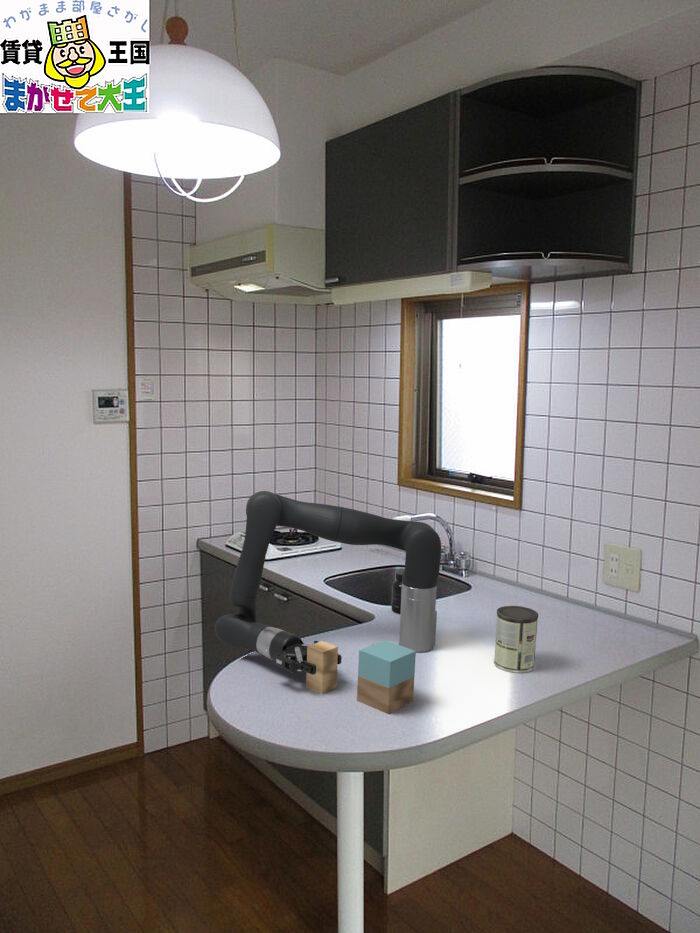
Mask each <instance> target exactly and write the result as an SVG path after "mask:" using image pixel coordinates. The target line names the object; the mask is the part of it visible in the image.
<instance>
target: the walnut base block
mask: <svg viewBox="0 0 700 933" xmlns="http://www.w3.org/2000/svg"><path fill="white" fill-rule="evenodd" d="M356 686H357V687H356V690H357V691H356V692H357V693H356V701H357V702H358V703H360V704H364V705H366V706H368V707H370V708H372V709H375V710H378V711H379V712H382V713H384V714H387V715H390V714H391V713H393V712H395V711H397V710H400V709H401V708H403V707H405V706H407V705H408V704H411V703H412V702H414V692H415V690H414V689H415V688H414V687H415V676H414V677H412V678H410V679H408V680H406V681H404V682H402V683H399V684H397V685H395V686H393V687H391V688H387V687H385V686H382V685H380V684H377V683H375V682H372V681H370V680H368V679H365V678H363V677H360V676H358V675H357V685H356Z"/></svg>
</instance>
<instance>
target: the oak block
mask: <svg viewBox="0 0 700 933" xmlns="http://www.w3.org/2000/svg"><path fill="white" fill-rule="evenodd" d="M309 645H310V646H307V662H309V663H312V664H314V665H316V674H314V675H312V674H309V673H307V672H306V679H305V680H306V681H305V688H307V689H309V690H312V691H314V692H316V693H318V694H320V693H321V694H320V695H324V694H325V693H328V692H330V691H332V690H334V689H336V688H337V683H338V682H337V681H338V664H337V660H338V654H339V646H337V645H335V644H332V643H330V642H326V641H323V640H320V641H319V642H318V643H315V644H314V643H312V644H309Z"/></svg>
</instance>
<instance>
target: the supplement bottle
mask: <svg viewBox="0 0 700 933" xmlns="http://www.w3.org/2000/svg"><path fill="white" fill-rule="evenodd" d="M403 572H404V570H400V571H399V570H398V571H396V572H395V580H394V581H393V582H392V585H391V611H392V612H393V613H394V614H397V615H398V614H399V615H400V613H401V592H402V575H403Z"/></svg>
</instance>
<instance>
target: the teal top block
mask: <svg viewBox="0 0 700 933" xmlns="http://www.w3.org/2000/svg"><path fill="white" fill-rule="evenodd" d="M416 654H417V652H416V651H414V650H411V649H409V648H406V647H403V646H400V645H399V644H397V643H394V642H391V641H389V640H386V639H384V640H382V641H378V642H376V643H373V644H372V645H369V646H367V647H366V646H365V647H364V648H361V649H359V650H358V666H357V667H358V669H357V677H358V676H360V677H363V678H365V679H368V680H370V681H372V682H375V683H377V684H380V685H382V686H385V687H387V688H391V687H393V686H395V685H397V684H399V683H402V682H404V681H406V680H408V679H410V678H412V677H414V678H415V676H416V675H415V672H416V658H417V657H416V656H417V655H416Z"/></svg>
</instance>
